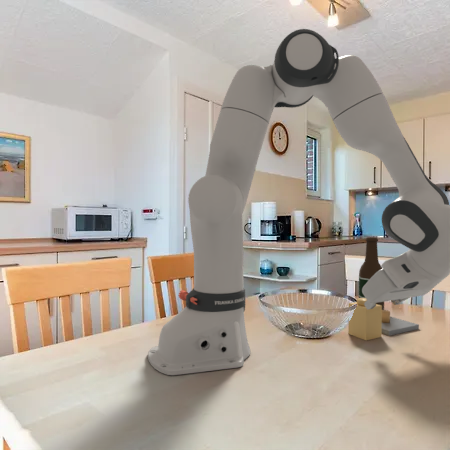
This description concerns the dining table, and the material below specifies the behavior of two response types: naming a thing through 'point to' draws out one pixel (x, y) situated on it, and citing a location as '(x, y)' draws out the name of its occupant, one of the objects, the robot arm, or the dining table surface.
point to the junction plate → (395, 324)
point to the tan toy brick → (365, 321)
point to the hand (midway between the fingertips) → (381, 304)
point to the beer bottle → (369, 265)
